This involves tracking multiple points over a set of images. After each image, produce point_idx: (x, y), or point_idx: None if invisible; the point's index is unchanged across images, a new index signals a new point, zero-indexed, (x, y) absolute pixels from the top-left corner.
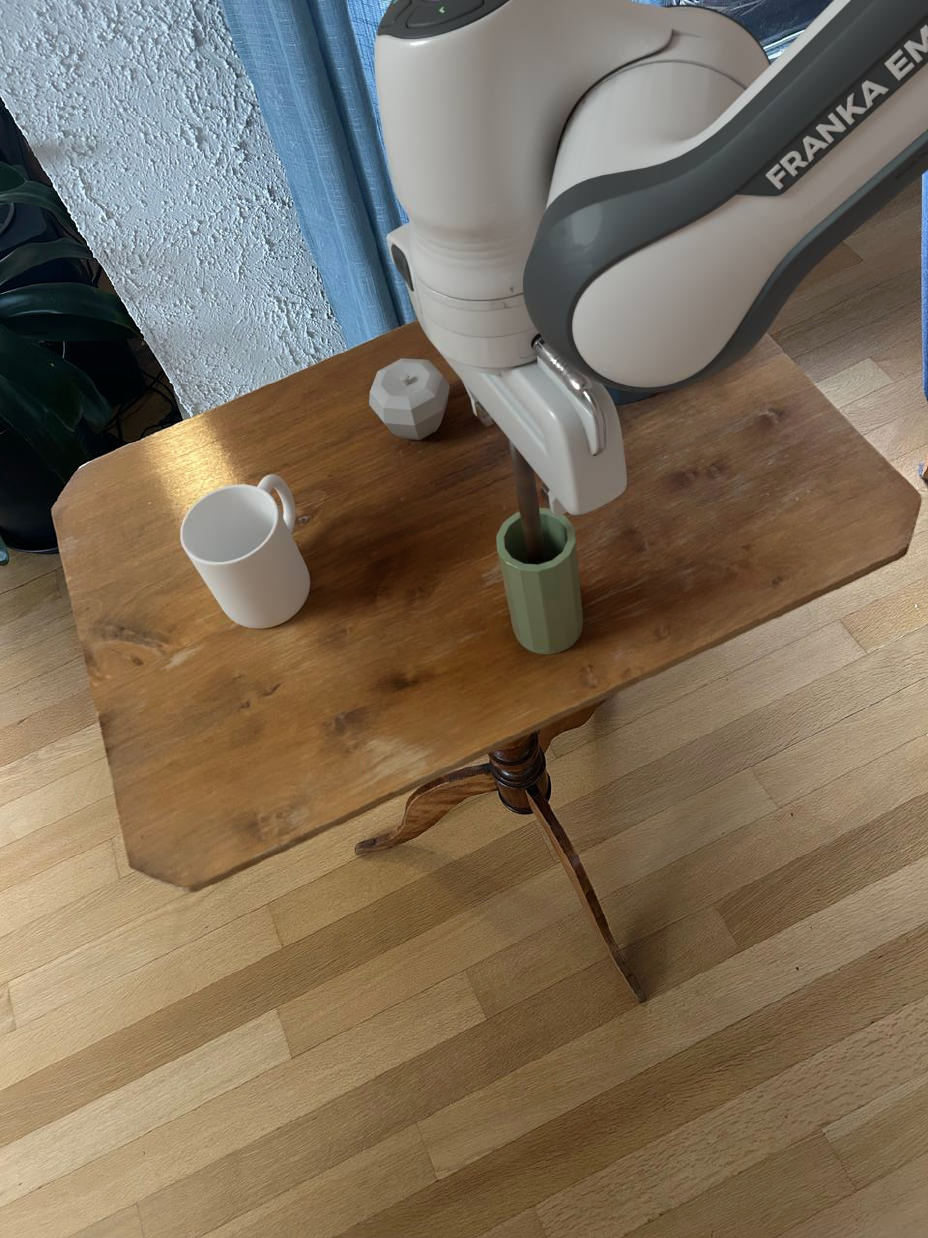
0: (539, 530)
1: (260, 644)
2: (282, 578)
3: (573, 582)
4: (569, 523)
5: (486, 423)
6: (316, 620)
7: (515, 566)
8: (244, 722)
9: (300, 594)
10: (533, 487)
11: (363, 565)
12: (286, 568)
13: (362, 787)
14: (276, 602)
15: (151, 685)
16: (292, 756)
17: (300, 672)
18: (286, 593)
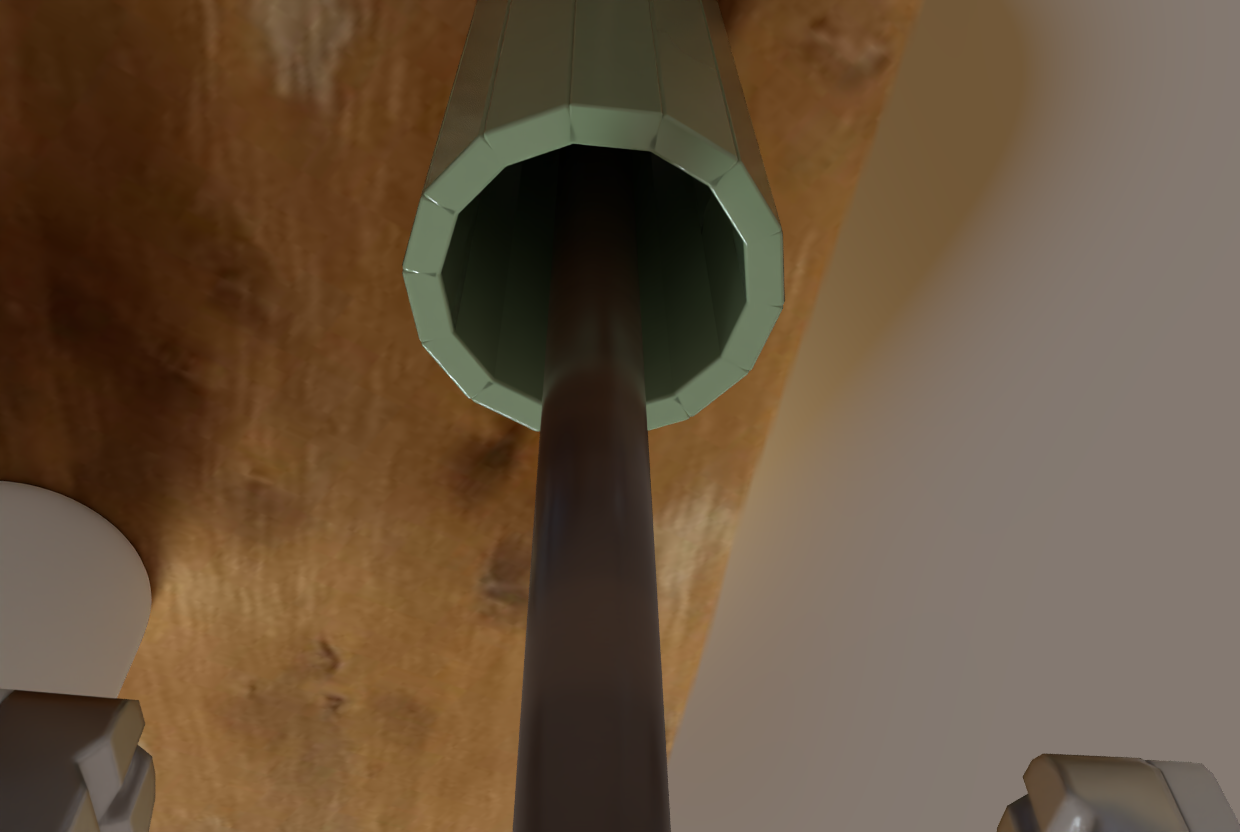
0: (641, 343)
1: (185, 632)
2: (77, 667)
3: (750, 123)
4: (632, 120)
5: (143, 815)
6: (182, 520)
7: (660, 423)
8: (375, 717)
9: (101, 560)
10: (655, 584)
11: (48, 354)
12: (52, 663)
13: (680, 621)
14: (121, 647)
15: (175, 800)
16: (515, 684)
17: (317, 601)
18: (106, 627)
